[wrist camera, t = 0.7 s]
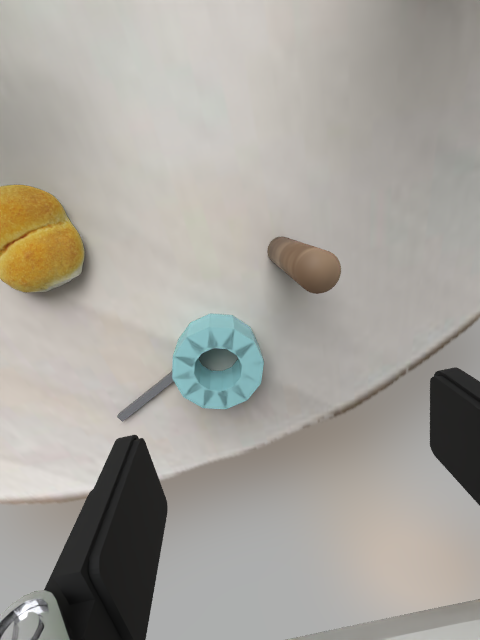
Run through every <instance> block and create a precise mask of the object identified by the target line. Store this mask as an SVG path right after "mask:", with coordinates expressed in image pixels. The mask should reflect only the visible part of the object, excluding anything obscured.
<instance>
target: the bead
mask: <svg viewBox="0 0 480 640" xmlns="http://www.w3.org/2000/svg"><path fill="white" fill-rule="evenodd" d="M213 348H220V349H227V350H229V351H231V352H232V353H234V354H235V355H237V357H238V360H237V361H236V362H235V364H234V365H233V366H232V367H230V368H228V369H226V370H224V371H211V370H209V369H208V368H206V367H204V366H203V365H202V364H201V363H200V361H199V359H198V358H199V356H200V355H201V354H202V353H204V352H206V351H208V350H210V349H213ZM263 365H264V361H263V357H262V354H261V351H260V348H259V345H258V343H257V341H256V338H255V336H254V334H253V332H252V330H251V328H250V327H249V326H248V325H246V324H245V323H243V322H242V321H240V320H239V319H237V318H236V317H234V316H233V315H222V314H208V315H206V316H204V317H202V318H199V319H197V320H195V321H193V322H191V323H190V324H189V325H188V327H187V328H186V329H185V331H184V332H183V334H182V335H181V337H180V338H179V339H178V342H177V345H176V348H175V351H174V355H173V369H172V379H173V380H174V382H175V384H176V385H177V387H178V389H179V390H180V392H181V394H182V395H183V397H184V398H186V399H188V400H190V401H192V402H193V403H195V404H197V405H199V406H200V407H202V408H213V409H228V408H230V407H232V406H235V405H237V404H239V403H242V402H244V401H247V400H248V399H249V397H250V396H251V395H252V394H253V392H254V391H255V390H256V389H257V388H258V386H259V385H260V384H261V380H262V372H263Z"/></svg>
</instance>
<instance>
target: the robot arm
mask: <svg viewBox="0 0 480 640" xmlns="http://www.w3.org/2000/svg"><path fill="white" fill-rule="evenodd" d="M430 447H431V450H432V452H433V454H434V455H435V456H436V458H437V459H438V460H439V461H440V462H441V463H442V464H443V465H444V466H445V468H446V469H447V470H448V471H449V472H450V473H451V474H452V475H453V476H454V478H455V479H456V480H457V481H458V482H459V483H460V484H461V485H462V486H463V488H464V489H465V490H466V491H467V492H468V493H469V494H470V495H471V496H472V497H473V499H474V500H476V502H477V503H478V504H479V505H480V382H479V381H478V380H476V379H475V378H473V377H471V376H470V375H468V374H467V373H465V372H464V371H462V370H460V369H458V368H451V369H445V370H441V371H437V372H436V373H435V374H434V377H432V378H431V380H430ZM166 517H167V501H166V497H165V495H164V492H163V489H162V487H161V484H160V481H159V478H158V476H157V473H156V470H155V468H154V465H153V462H152V459H151V457H150V454H149V451H148V449H147V446H146V443H145V441H144V439H143V438H140V439H139V438H138V436H137V435H132V436H127V437H122V438H118V439H117V440H116V441H115V443H114V445H113V448H112V450H111V452H110V454H109V456H108V459H107V461H106V463H105V465H104V467H103V470H102V472H101V474H100V476H99V478H98V480H97V483H96V485H95V487H94V489H93V490H92V491H91V492H90V493H89V495H88V497H87V499H86V501H85V503H84V506H83V508H82V510H81V512H80V514H79V517H78V518H77V521H76V523H75V525H74V527H73V529H72V531H71V533H70V536H69V538H68V540H67V542H66V544H65V546H64V549H63V551H62V553H61V555H60V557H59V559H58V561H57V564H56V566H55V568H54V570H53V572H52V574H51V577H50V579H49V581H48V583H47V585H46V587H45V589H44V590H42V591H34V592H32V593H30V594H27V595H25V596H23V597H22V598H20V599H19V600H17V601H16V602H14V603H13V604H12V605H11V606H10V607H8V608H7V609H6V610H5V611H4V612H3V613H2V614H1V615H0V640H145V639H146V633H147V627H148V621H149V615H150V610H151V604H152V598H153V592H154V587H155V581H156V575H157V569H158V563H159V557H160V551H161V546H162V540H163V534H164V528H165V523H166ZM287 640H480V599H478V600H473V601H468V602H463V603H458V604H453V605H449V606H443V607H439V608H434V609H429V610H424V611H419V612H415V613H410V614H405V615H400V616H395V617H391V618H386V619H381V620H377V621H372V622H367V623H363V624H357V625H353V626H348V627H343V628H339V629H334V630H329V631H324V632H320V633H315V634H310V635H305V636H301V637H296V638H292V639H287Z"/></svg>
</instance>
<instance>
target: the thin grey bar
mask: <svg viewBox="0 0 480 640" xmlns="http://www.w3.org/2000/svg"><path fill="white" fill-rule="evenodd" d="M173 381H174V380H173V379H172V372H171V373H169V374H168V375H167V376H166V377H164V378H163V379H162V380H161V381H159V382H158V383H157V384H156V385H154V386H153V387H152V388H150V389H149V390H148V391H147V392H145V393H144V394H143V395H142V396H140V397H139V398H138V399H137V400H135V401H134V402H133V403H132V404H130V405H129V406H128V407H127V408H125V409H124V410H123V411H122V412H120V413H119V414H118V416H117V417H118V418H119V419H120V420H121V421H122V422H123V421H124V420H125V419H127V418H128V417H129V416H130V415H132V414H133V413H134V412H135V411H137V410H138V409H139V408H141V407H142V406H143V405H144V404H146V403H147V402H148V401H149V400H151V399H152V398H153V397H154V396H156V395H157V394H158V393H160V392H161V391H162V390H163V389H165V388H166V387H167V386H168V385H170V384H171V383H172V382H173Z"/></svg>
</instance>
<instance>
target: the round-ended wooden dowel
mask: <svg viewBox="0 0 480 640" xmlns="http://www.w3.org/2000/svg"><path fill="white" fill-rule="evenodd" d="M268 256H269V258H270V260H271V261H272V262H274V263H275V264H276V265H277V266H278V267H279V268H281V269H282V270H283V271H284V272H285V273H286V274H288V275H289V276H290V277H291V278H292V279H294V280H295V281H296V282H297V283H298V284H299V285H301V286H302V287H303V288H304V289H305V290H307V291H309V292H311V293H316V294H319V293H324V292H327V291H329V290H330V289H332V288H333V287H334V286H335V285H336V283H337V282H338V280H339V277H340V274H341V266H340V262H339V260H338V258H337V257H336V256H335V255H334V254H333V253H331V252H329V251H326V250H323V249H320V248H317V247H314V246H311V245H307V244H304V243H301V242H298V241H295V240H292V239H289V238H286V237H277V238H275V239H273V240H272V241H271V242H270V244H269V246H268Z"/></svg>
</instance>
